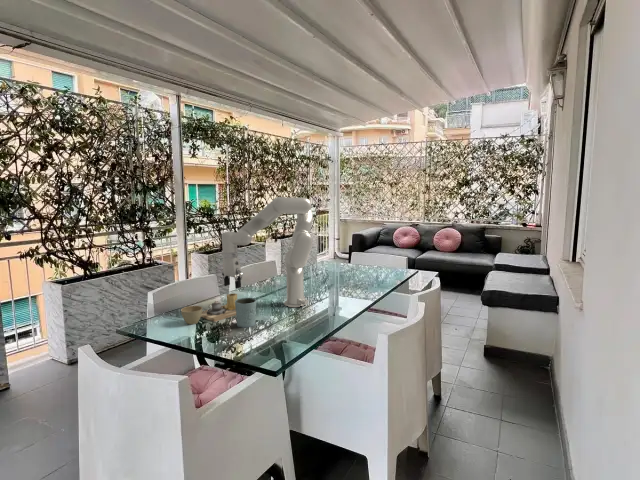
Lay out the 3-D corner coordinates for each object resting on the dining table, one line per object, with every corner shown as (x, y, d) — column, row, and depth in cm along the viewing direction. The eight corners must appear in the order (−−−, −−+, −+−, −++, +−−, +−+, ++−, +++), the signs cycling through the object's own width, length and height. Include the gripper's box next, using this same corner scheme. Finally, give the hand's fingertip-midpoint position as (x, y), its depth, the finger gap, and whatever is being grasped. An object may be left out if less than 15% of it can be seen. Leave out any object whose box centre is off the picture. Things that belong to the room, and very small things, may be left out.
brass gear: (245, 307, 205) (245, 294, 204) (230, 311, 198) (230, 298, 197) (234, 303, 212) (233, 291, 211) (219, 307, 204) (218, 295, 203)
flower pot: (183, 327, 180) (182, 313, 179) (180, 321, 189) (179, 307, 188) (205, 324, 185) (204, 309, 184) (201, 318, 194) (200, 304, 193)
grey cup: (238, 320, 189) (237, 297, 187) (259, 320, 188) (258, 297, 187) (233, 328, 179) (232, 303, 177) (254, 328, 178) (254, 303, 177)
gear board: (253, 309, 207) (253, 296, 206) (214, 321, 188) (213, 307, 187) (236, 304, 216) (236, 291, 215) (197, 315, 197) (196, 302, 197)
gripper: (246, 255, 198) (248, 287, 201) (226, 252, 209) (228, 282, 212) (234, 257, 193) (237, 290, 195) (214, 254, 204) (217, 285, 206)
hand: (232, 286), depth 204 cm, fingers open, 9 cm apart
